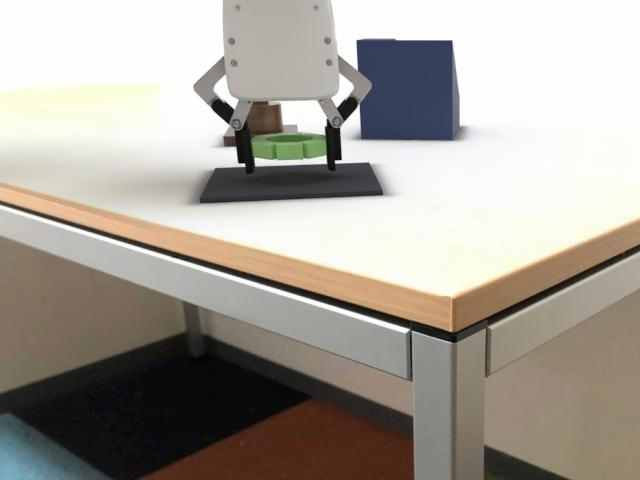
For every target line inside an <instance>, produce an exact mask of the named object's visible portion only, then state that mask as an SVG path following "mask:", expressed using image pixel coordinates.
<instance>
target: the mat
mask: <svg viewBox="0 0 640 480" xmlns="http://www.w3.org/2000/svg"><path fill="white" fill-rule="evenodd" d="M371 165H372V164H371V163H370V161H367V162H366V161H365V162H342V163H341V162H339V163H338V162H337V163H335V167H336V171H330V170H328V167H327V163H316V164H315V163H314V164H313V163H311V164H287V165H286V164H285V165H261V166H259V165H258V166H256V165H255V170H254V172H252V174H246V168H245V166H234V167H233V166H232V167H231V166H230V167H229V166H228V167H215V168H214V169H213V172H212V173H211V175H210V177H209V179H208V181H207V183H206V185H205V187H204V189H203V190H202V193H201V195H200V196H199V203H221V202H222V203H223V202H244V201H265V200H267V201H268V200H290V199H312V198H314V199H315V198H333V197H334V198H335V197H356V196H378V195H380V196H381V195H384V190H383V188H382V186H381V184H380V182H379V179H378V177H377V176H376V174H375V172H374V169H373V168H372V166H371Z"/></svg>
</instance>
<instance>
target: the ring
mask: <svg viewBox="0 0 640 480" xmlns="http://www.w3.org/2000/svg"><path fill="white" fill-rule="evenodd" d="M251 149H252V157H254V159H256V158H257V159H261V160H269V161H274V160H276V161H302V160H304V159H307V160H311V159H316V158H320V157H325V156H327V145H326V137H325V134H320V133H313V132H312V133H311V132H304V133H303V132H298V133H277V134H268V135H262V136H256V137H254V138H252V139H251Z"/></svg>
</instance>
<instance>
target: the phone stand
mask: <svg viewBox="0 0 640 480" xmlns="http://www.w3.org/2000/svg"><path fill="white" fill-rule="evenodd" d="M355 42H356V43H355V45H356V60H357V61H356V62H357V63H356V65H357V71H359V72H360V73H361V74H362V75H363V76H365V77H366V78H367V79H368V80H369V81H370V82H371V83H372V87H371V89H370V91H369V92H368V93H367V95H366V96H365V97H364V99H363V100H362V101H361V102H360V104H359V105H358V107H359V124H360V127H359V128H360V139H361V140H417V141H420V140H421V141H422V140H423V141H425V140H426V141H453V140H454V138H455V137H456V134H457V133H458V131H459V129H460V125H461V123H460V122H461V120H460V117H461V116H460V115H461V114H460V113H461V110H460V109H461V105H460V104H461V103H460V102H461V101H460V100H461V99H460V98H461V97H460V90H459V82H458V81H459V80H458V75H457V74H458V73H457V66H456V58H455V57H456V56H455V49H454V42H453V40H452V39H396V38H377V37H376V38H373V37H372V38H370V37H369V38H368V37H367V38H361V39H356V41H355Z"/></svg>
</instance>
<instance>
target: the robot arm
mask: <svg viewBox="0 0 640 480" xmlns="http://www.w3.org/2000/svg"><path fill="white" fill-rule="evenodd" d="M333 12H334V11H333V4H332V1H331V0H222V40H223V42H222V43H223V56H222V57H221V58H219V60H218V61H216V62H215V63H214V64H213V65H212V66H211V67H210V68H209V69H208V70H207V71H206V72H205V73H204V74H202V76H201V77H199V79H198V80H197V81H195V82H194V84H193V86H192V88H193V91H194V93H195V94H197V95H198V97H200V98H201V100H202V101H203V102H204V103H205V104H206V105H208V107H210V109H211V110H212V111H213V113H215V114H216V115H217V116H218V117H219V118H220V119H221V120H223V121H224V122H225V123H226V124H227V125H228V126H230V127H231V128H232V129H233V130H234V132H235V141H236V146H235V150H236V159H237V164H241V165H242V164H244V167H245V168H246V174H252V172H254V170H255V166H256V161H255V159H256V158H254V157H252V149H251V139H252V130H251V128H249V126H248V121H247V120H246V118H247V116H248V114H249V111H250V109H251V106H252V104H253V102H254V101H272V102H299V101H300V102H304V101H316V102H317V103H318V105H319V107H320V108H321V109H322V111H323V113H324V114H325V117H326V125H324V136H325V137H326V145H327V155H326V164H327V167H328V170H330V171H336V167H335V164H336V161H337V162H338V161H343V152H342V150H343V149H342V137H341V135H342V134H341V128H342V126H343V125H344V123H345V122H346V121H347V120H348V119H349V118H350V117H351V115H352V114H354V112H355V111H356V110H357V109H358V107H359V104H360V102H361V101H362V100H363V99H364V97H365V96H366V95H367V93H368V92H369V91H370V89H371V87H372V83H371V82H370V81H369V80H368V79H367V78H366V77H365V76H363V75H362V74H361V73H360V72H359V71H358V69H357V68H355V66H353V65H351V63H349V62H348V61H347V60H345V59H344V58H343V57H342V56H341V55H340V54H339V53H338V42H337V33H336V27H335V19H334V13H333ZM340 75H342V77H344V78H345V79H346V80H347V81H349V82H350V83H351V85H352V89H351V90H350V92H349V93H348V94H347V96H346V97H345V98H344V99H343V100H342V101H341V103H339V105H338V106H336V104H335V102H334V100H333V99H332V98H333V97H335V96H336V95H337V94H338V93H339V89H340ZM224 77H225V79H226V87H227V90H228V92H229V94H230V96H232V97H233V98H235V99H236V100H238V101H237V103H236V105H235V108H233V106H231V104H229V103H228V102H227V101H226V100H225V99H224V98H222V97H221V96H220V95H219V94H218V92H217V91H216V90H215V86H216V84H218V82H219V81H220V80H222V79H223V78H224Z"/></svg>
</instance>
